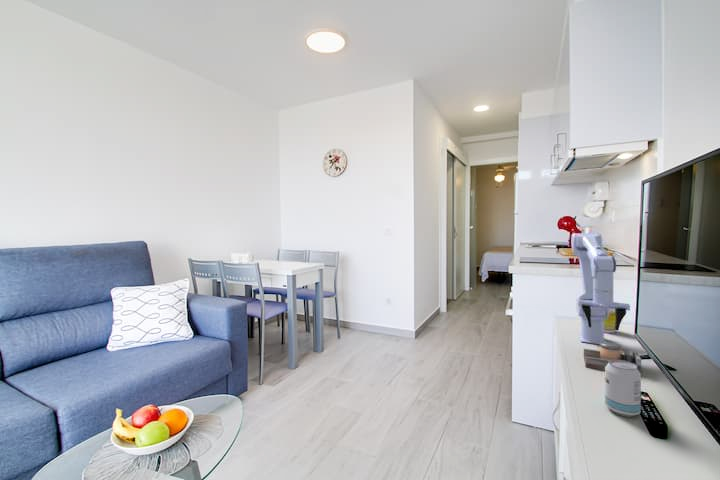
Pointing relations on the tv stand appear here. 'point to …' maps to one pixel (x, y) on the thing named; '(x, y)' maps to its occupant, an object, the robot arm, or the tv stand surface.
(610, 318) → the supplement bottle
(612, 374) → the beverage can
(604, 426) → the tv stand surface
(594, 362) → the tray
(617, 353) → the jar
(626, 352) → the pusher plate
